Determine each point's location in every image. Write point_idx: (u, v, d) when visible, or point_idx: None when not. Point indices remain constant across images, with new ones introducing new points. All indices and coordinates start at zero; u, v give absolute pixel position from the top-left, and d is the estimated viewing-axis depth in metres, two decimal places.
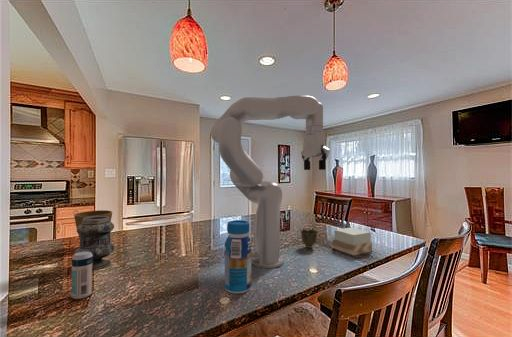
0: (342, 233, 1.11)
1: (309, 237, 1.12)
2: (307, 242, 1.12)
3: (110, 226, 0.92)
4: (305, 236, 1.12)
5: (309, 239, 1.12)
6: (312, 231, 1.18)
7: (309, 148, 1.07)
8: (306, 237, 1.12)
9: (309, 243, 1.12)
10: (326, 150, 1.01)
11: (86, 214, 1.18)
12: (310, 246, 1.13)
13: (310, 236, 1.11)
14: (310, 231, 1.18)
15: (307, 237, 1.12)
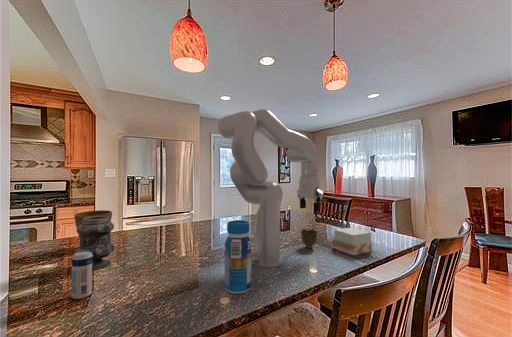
0: (342, 233, 1.11)
1: (309, 237, 1.12)
2: (307, 242, 1.12)
3: (110, 226, 0.92)
4: (305, 236, 1.12)
5: (309, 239, 1.12)
6: (312, 231, 1.18)
7: (304, 190, 1.14)
8: (306, 237, 1.12)
9: (309, 243, 1.12)
10: (320, 194, 1.08)
11: (86, 214, 1.18)
12: (310, 246, 1.13)
13: (310, 236, 1.11)
14: (310, 231, 1.18)
15: (307, 237, 1.12)
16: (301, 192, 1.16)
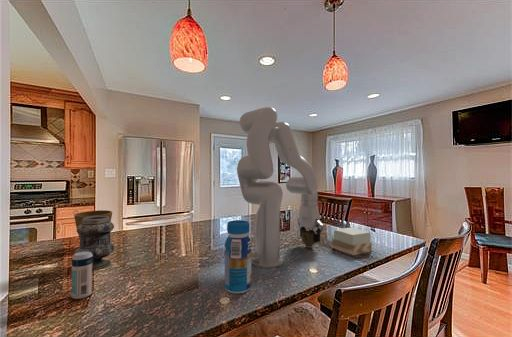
0: (341, 233, 1.11)
1: (309, 237, 1.12)
2: (307, 242, 1.12)
3: (110, 226, 0.92)
4: (305, 236, 1.12)
5: (309, 239, 1.12)
6: (312, 231, 1.18)
7: (305, 220, 1.14)
8: (306, 237, 1.12)
9: (309, 243, 1.12)
10: (320, 226, 1.08)
11: (86, 214, 1.18)
12: (310, 246, 1.13)
13: (310, 236, 1.11)
14: (310, 231, 1.18)
15: (307, 237, 1.12)
16: (301, 222, 1.16)
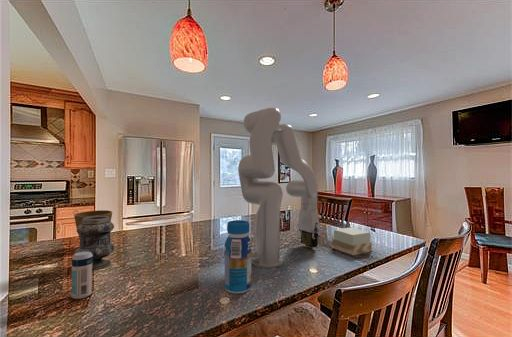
0: (341, 233, 1.11)
1: (309, 237, 1.12)
2: (307, 242, 1.12)
3: (110, 226, 0.92)
4: (305, 236, 1.12)
5: (309, 239, 1.12)
6: None
7: (304, 224, 1.14)
8: (306, 237, 1.12)
9: (309, 243, 1.12)
10: (318, 232, 1.08)
11: (86, 214, 1.18)
12: (310, 246, 1.13)
13: (310, 236, 1.11)
14: None
15: (307, 237, 1.12)
16: (301, 225, 1.16)
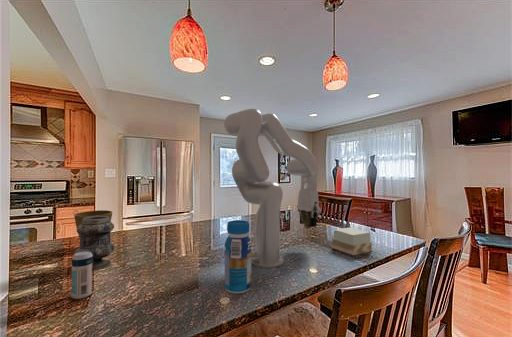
0: (341, 233, 1.11)
1: (308, 217, 1.11)
2: (306, 221, 1.12)
3: (110, 226, 0.92)
4: (304, 215, 1.12)
5: (308, 219, 1.11)
6: None
7: (303, 203, 1.14)
8: (305, 216, 1.12)
9: (308, 222, 1.12)
10: (318, 210, 1.08)
11: (86, 214, 1.18)
12: (309, 226, 1.13)
13: (309, 215, 1.11)
14: (309, 212, 1.18)
15: (306, 216, 1.12)
16: (300, 205, 1.16)
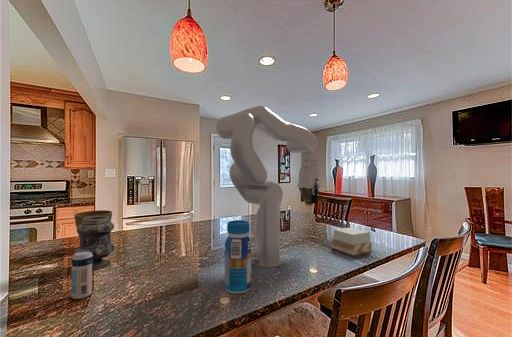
0: (341, 233, 1.11)
1: (309, 193, 1.12)
2: (307, 198, 1.12)
3: (110, 226, 0.92)
4: (305, 192, 1.12)
5: (309, 195, 1.12)
6: None
7: (304, 181, 1.14)
8: (306, 193, 1.12)
9: (309, 199, 1.12)
10: (318, 187, 1.09)
11: (86, 214, 1.18)
12: (310, 203, 1.14)
13: (310, 192, 1.12)
14: (310, 190, 1.18)
15: (307, 193, 1.12)
16: (301, 183, 1.16)
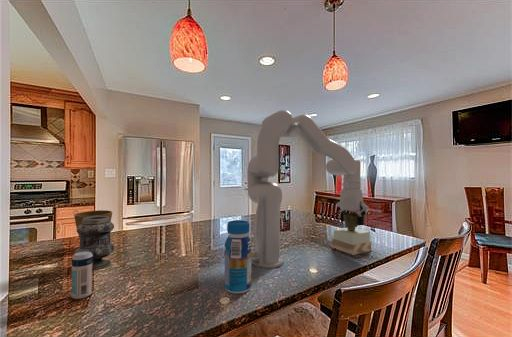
0: (341, 232, 1.11)
1: (353, 220, 1.10)
2: (350, 225, 1.11)
3: (110, 226, 0.92)
4: (349, 218, 1.10)
5: (353, 222, 1.10)
6: (354, 214, 1.16)
7: (347, 203, 1.12)
8: (350, 220, 1.10)
9: (352, 226, 1.10)
10: (365, 208, 1.06)
11: (86, 214, 1.18)
12: (353, 228, 1.12)
13: (354, 219, 1.10)
14: (352, 213, 1.16)
15: (350, 219, 1.10)
16: (343, 205, 1.14)
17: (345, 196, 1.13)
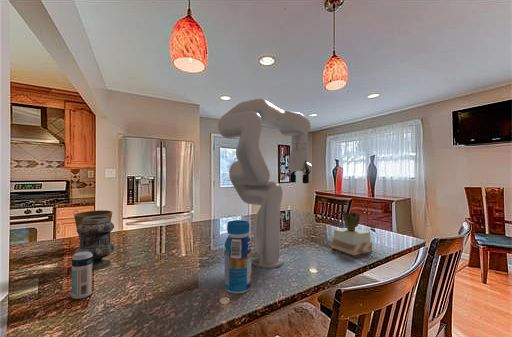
0: (341, 233, 1.11)
1: (353, 219, 1.10)
2: (350, 224, 1.11)
3: (110, 226, 0.92)
4: (349, 218, 1.11)
5: (353, 221, 1.10)
6: (354, 214, 1.16)
7: (294, 163, 1.18)
8: (349, 219, 1.11)
9: (352, 225, 1.11)
10: (309, 166, 1.12)
11: (86, 214, 1.18)
12: (353, 228, 1.12)
13: (354, 218, 1.10)
14: (351, 214, 1.17)
15: (350, 219, 1.11)
16: (291, 166, 1.20)
17: (293, 157, 1.19)
